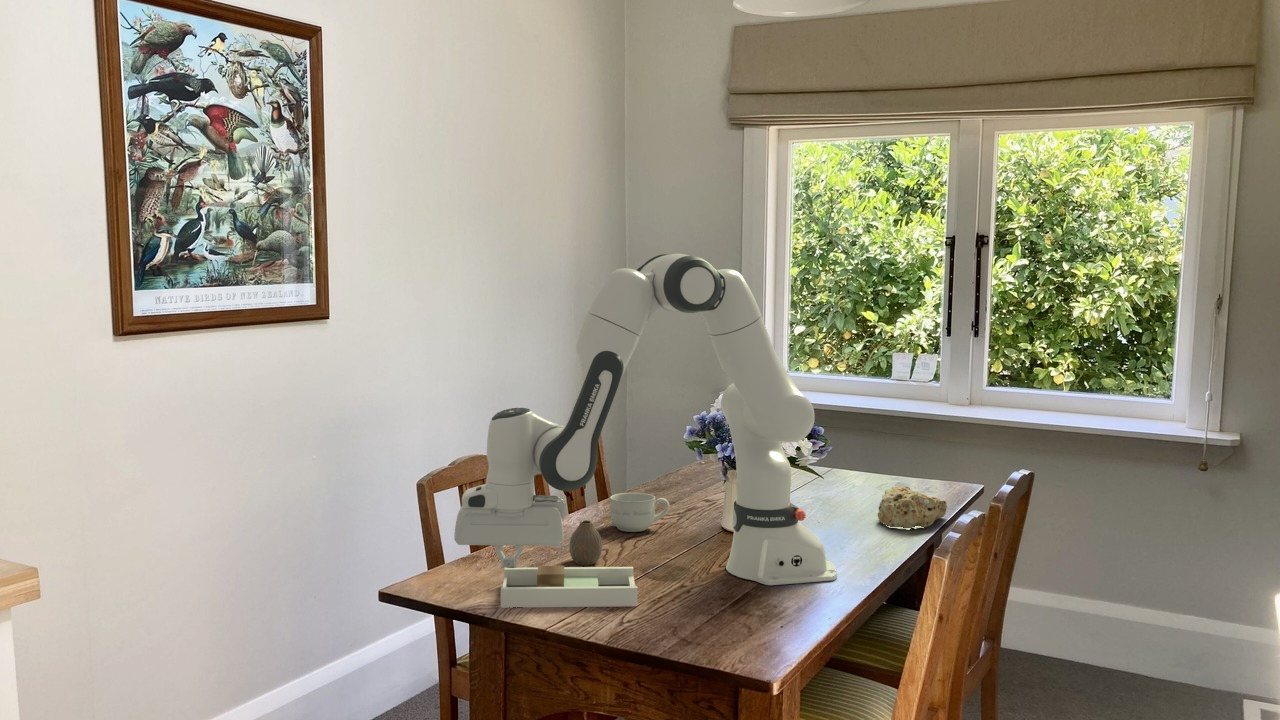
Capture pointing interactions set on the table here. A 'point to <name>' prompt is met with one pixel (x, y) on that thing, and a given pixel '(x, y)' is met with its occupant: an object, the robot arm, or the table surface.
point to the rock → (909, 508)
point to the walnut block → (550, 576)
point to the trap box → (571, 588)
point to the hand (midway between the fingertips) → (508, 567)
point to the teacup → (635, 511)
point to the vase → (585, 544)
